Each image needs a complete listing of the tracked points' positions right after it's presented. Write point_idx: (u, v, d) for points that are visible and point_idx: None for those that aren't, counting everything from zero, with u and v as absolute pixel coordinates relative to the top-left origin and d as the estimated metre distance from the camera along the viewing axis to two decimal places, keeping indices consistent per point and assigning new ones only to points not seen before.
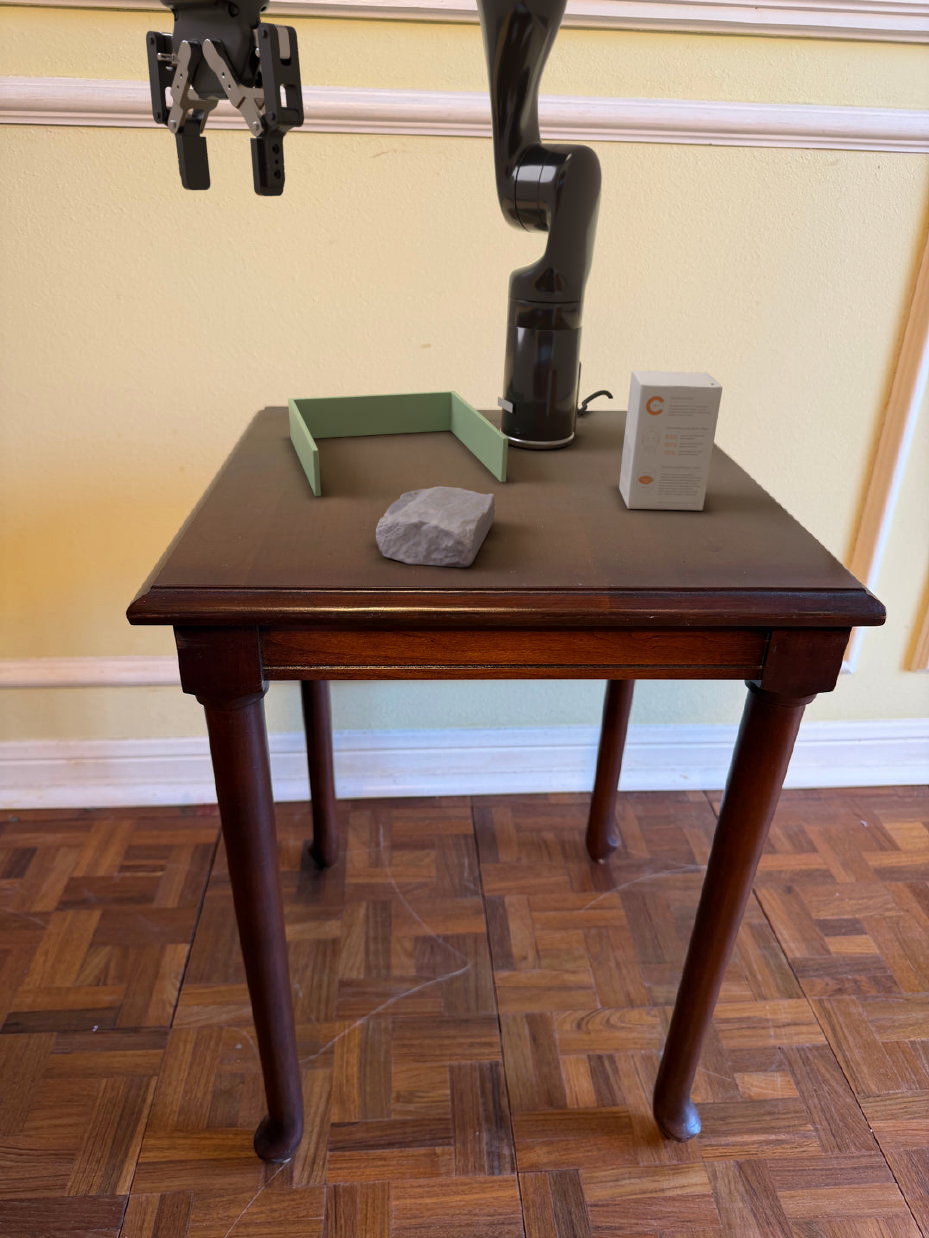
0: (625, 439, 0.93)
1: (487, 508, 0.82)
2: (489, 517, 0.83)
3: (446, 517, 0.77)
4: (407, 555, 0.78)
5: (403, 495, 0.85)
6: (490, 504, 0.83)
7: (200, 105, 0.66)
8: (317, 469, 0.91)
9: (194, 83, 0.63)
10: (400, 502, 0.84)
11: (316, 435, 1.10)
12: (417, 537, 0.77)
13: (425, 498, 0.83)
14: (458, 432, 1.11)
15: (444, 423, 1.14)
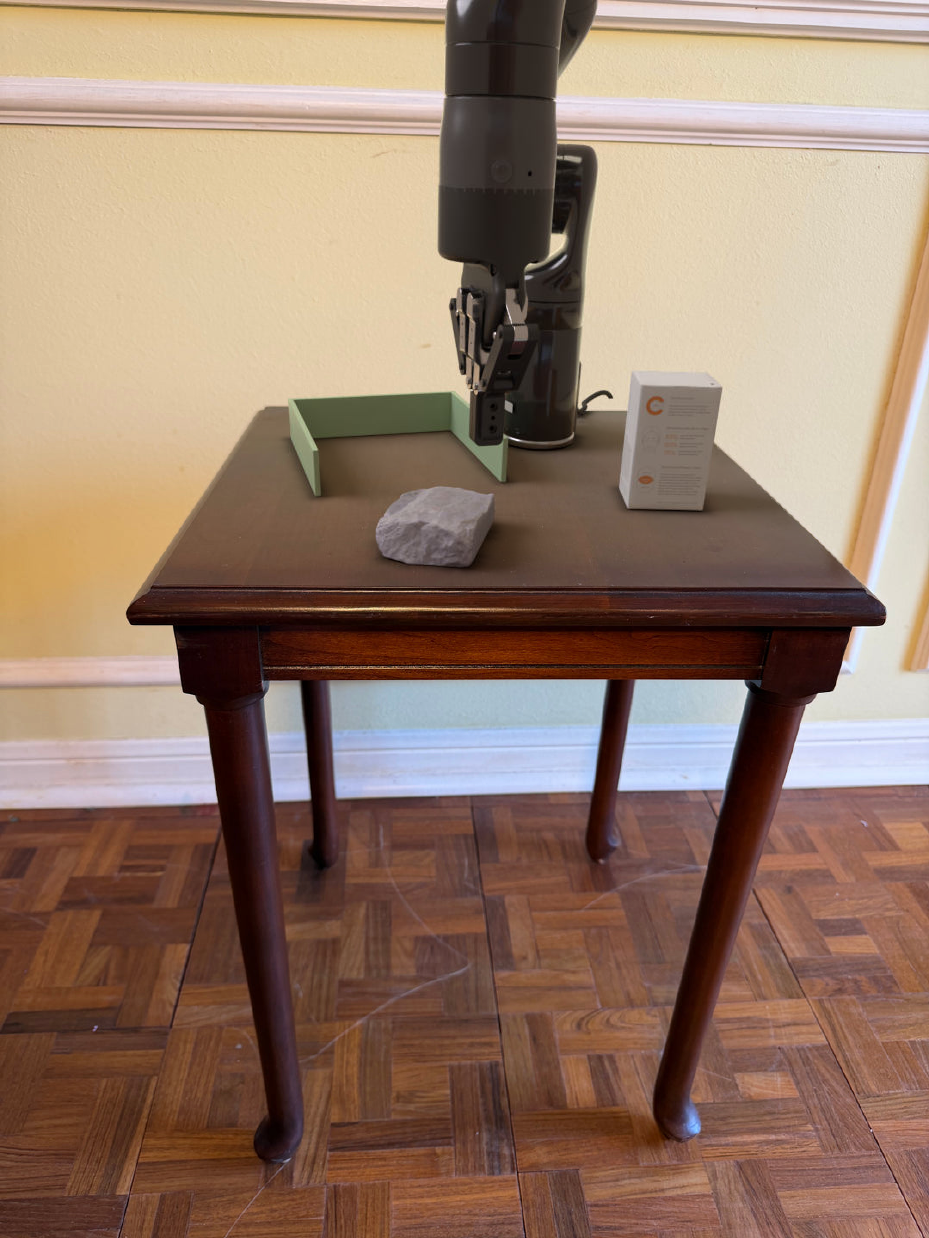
0: (625, 439, 0.93)
1: (487, 508, 0.82)
2: (489, 517, 0.83)
3: (446, 517, 0.77)
4: (407, 555, 0.78)
5: (403, 495, 0.85)
6: (490, 504, 0.83)
7: None
8: (317, 469, 0.91)
9: None
10: (400, 502, 0.84)
11: (316, 435, 1.10)
12: (417, 537, 0.77)
13: (425, 498, 0.83)
14: (458, 432, 1.11)
15: (444, 423, 1.14)
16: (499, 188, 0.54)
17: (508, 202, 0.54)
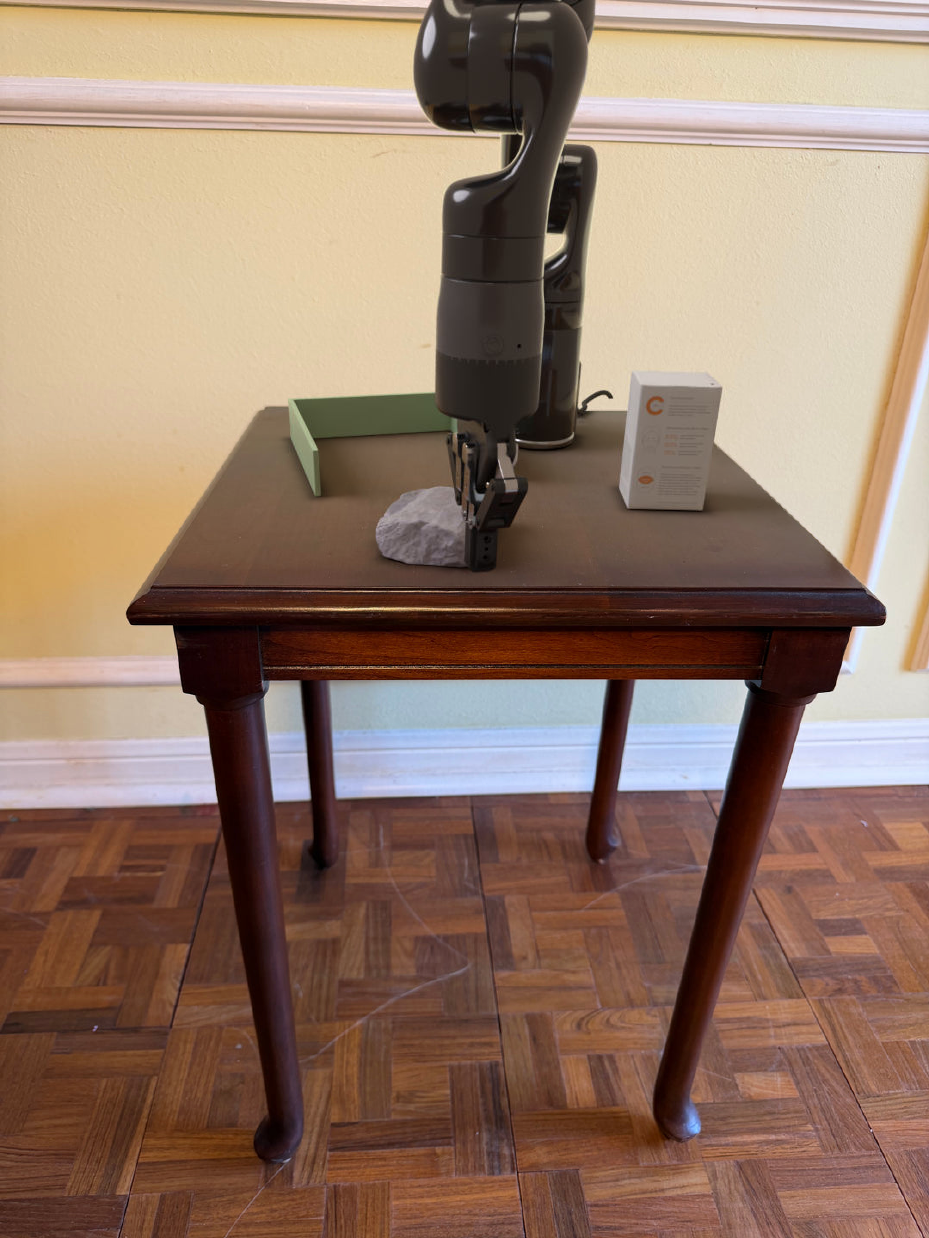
0: (625, 439, 0.93)
1: None
2: None
3: (446, 517, 0.77)
4: (407, 555, 0.78)
5: (403, 495, 0.85)
6: None
7: None
8: (317, 469, 0.91)
9: None
10: (400, 502, 0.84)
11: (316, 435, 1.10)
12: (417, 537, 0.77)
13: (425, 498, 0.83)
14: None
15: (444, 423, 1.14)
16: (491, 359, 0.59)
17: (499, 371, 0.59)
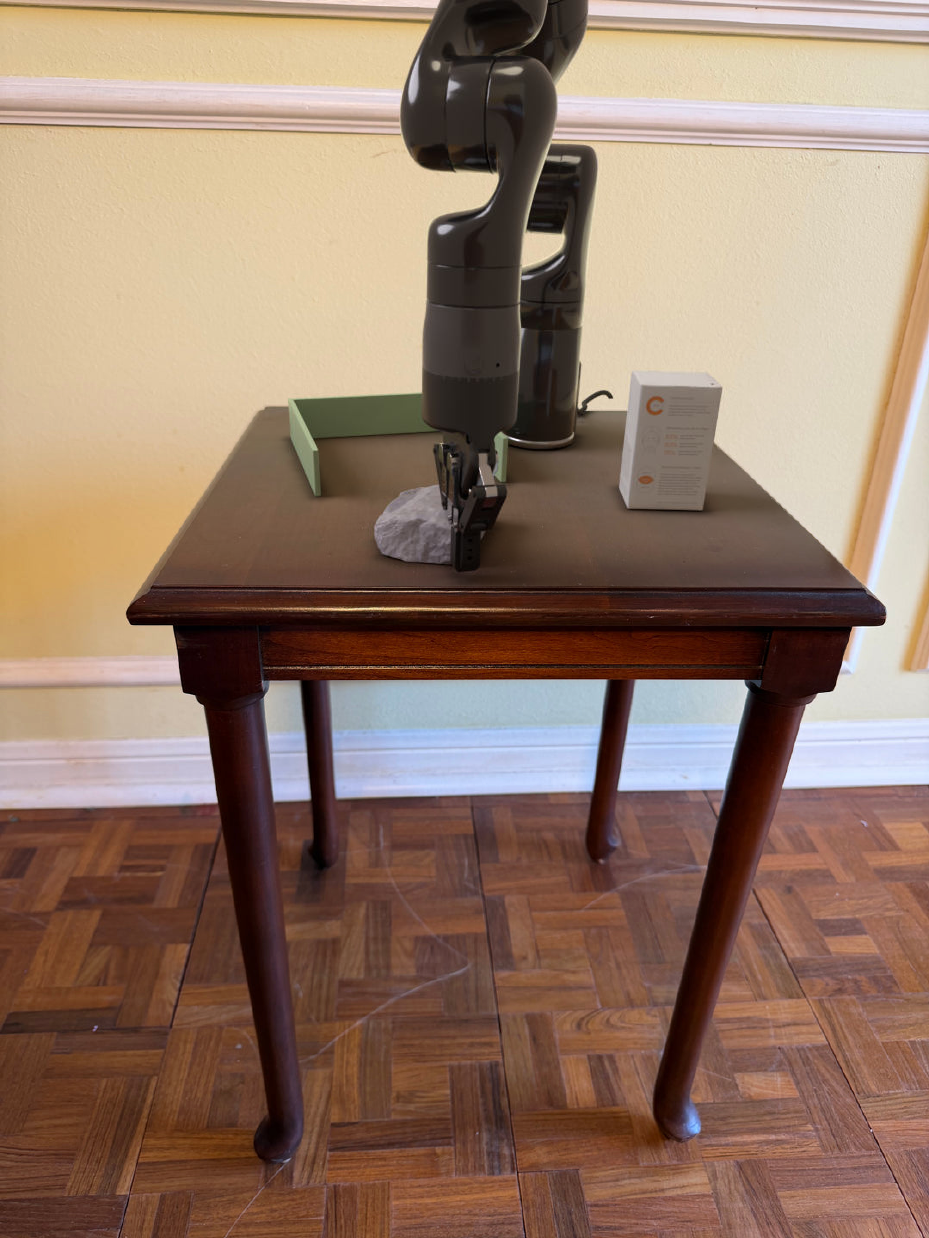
0: (625, 439, 0.93)
1: None
2: None
3: (444, 515, 0.77)
4: (405, 553, 0.78)
5: (402, 493, 0.86)
6: None
7: None
8: (317, 469, 0.91)
9: None
10: (399, 500, 0.84)
11: (316, 435, 1.10)
12: (415, 535, 0.78)
13: (424, 496, 0.84)
14: None
15: None
16: (472, 377, 0.64)
17: (480, 388, 0.65)
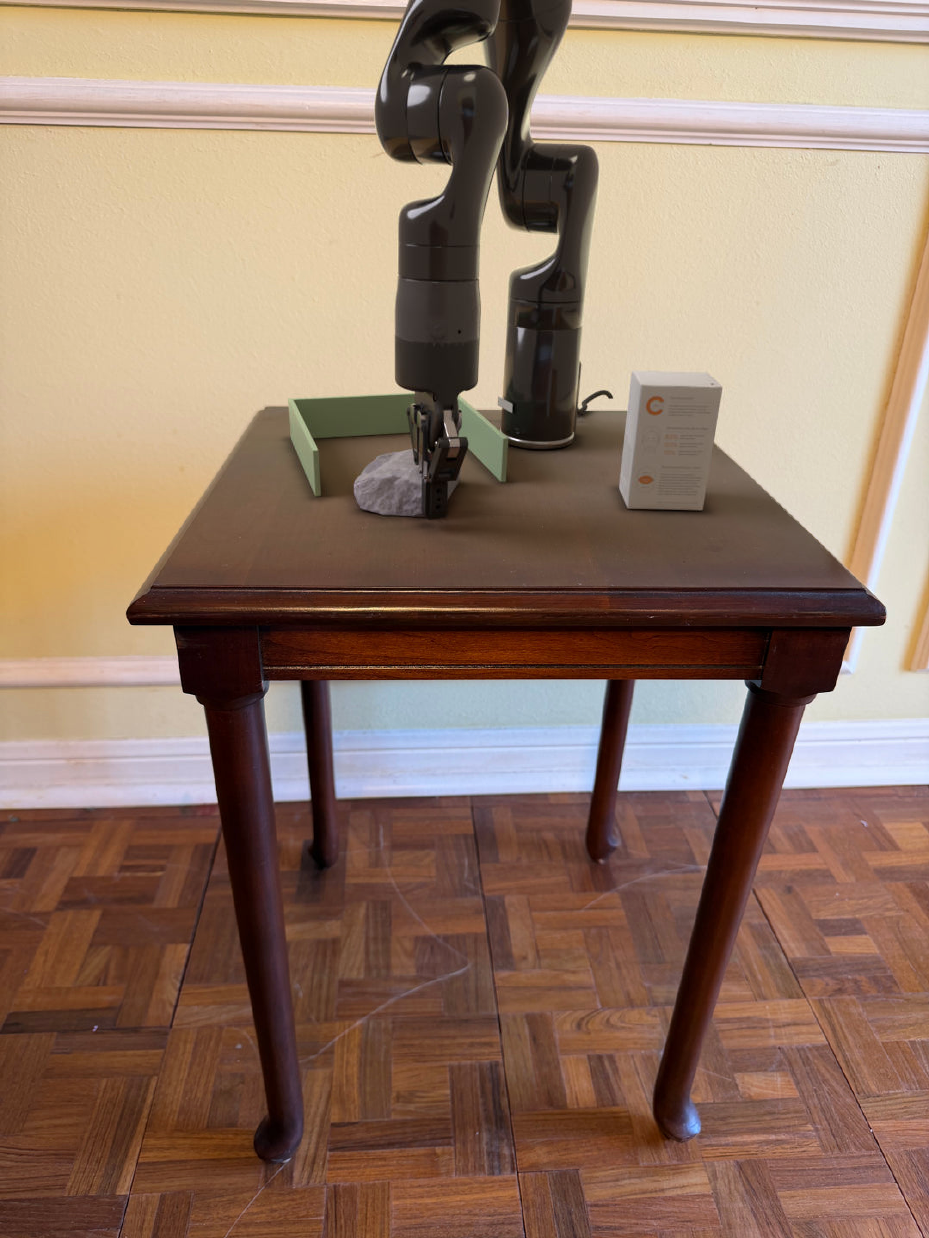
0: (625, 439, 0.93)
1: None
2: None
3: (415, 472, 0.87)
4: (382, 507, 0.88)
5: (378, 457, 0.95)
6: None
7: None
8: (317, 469, 0.91)
9: None
10: (375, 463, 0.94)
11: (316, 435, 1.10)
12: (390, 491, 0.87)
13: (398, 459, 0.93)
14: None
15: None
16: (437, 342, 0.74)
17: (444, 352, 0.75)
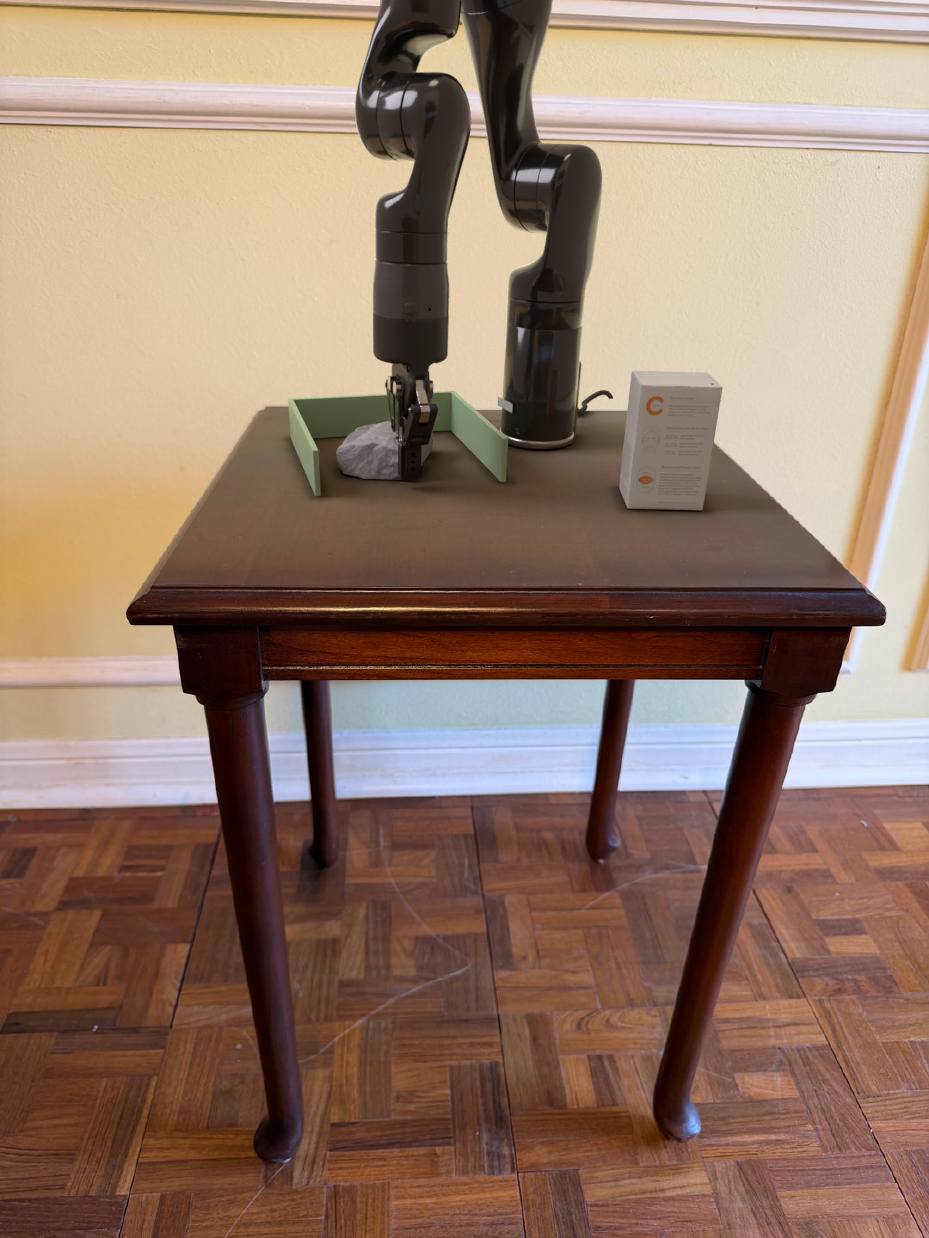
0: (625, 439, 0.93)
1: None
2: (428, 444, 1.03)
3: (392, 439, 0.96)
4: (362, 471, 0.97)
5: (357, 428, 1.04)
6: None
7: None
8: (317, 469, 0.91)
9: None
10: (355, 433, 1.03)
11: (316, 435, 1.10)
12: (370, 457, 0.97)
13: (375, 429, 1.02)
14: (458, 432, 1.11)
15: (444, 423, 1.14)
16: (409, 318, 0.83)
17: (416, 327, 0.84)
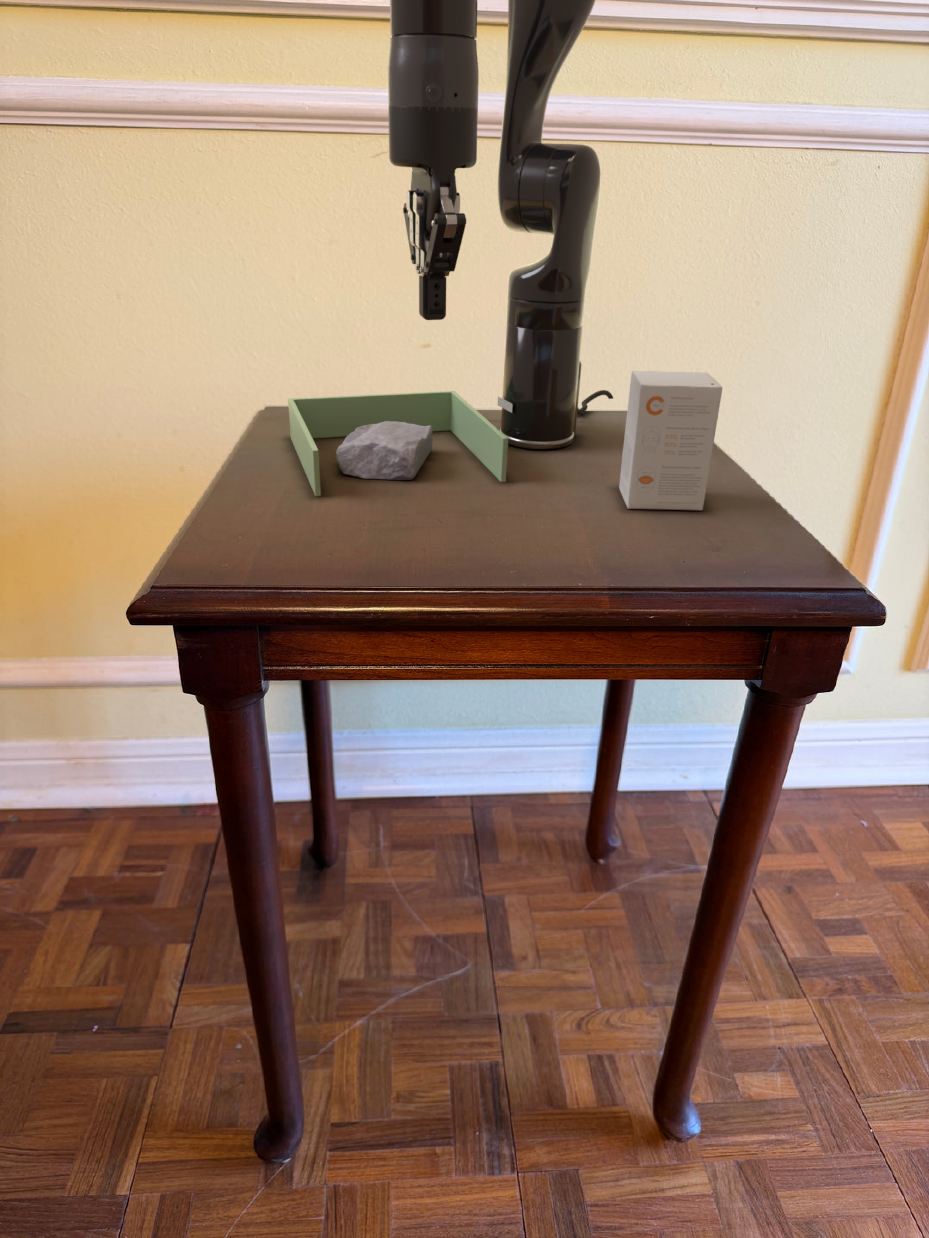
0: (625, 439, 0.93)
1: (426, 435, 1.02)
2: (428, 444, 1.03)
3: (392, 439, 0.96)
4: (362, 471, 0.97)
5: (357, 428, 1.05)
6: (428, 433, 1.03)
7: None
8: (317, 469, 0.91)
9: None
10: (355, 433, 1.03)
11: (316, 435, 1.10)
12: (370, 457, 0.97)
13: (375, 429, 1.03)
14: (458, 432, 1.11)
15: (444, 423, 1.14)
16: (432, 106, 0.70)
17: (439, 117, 0.71)
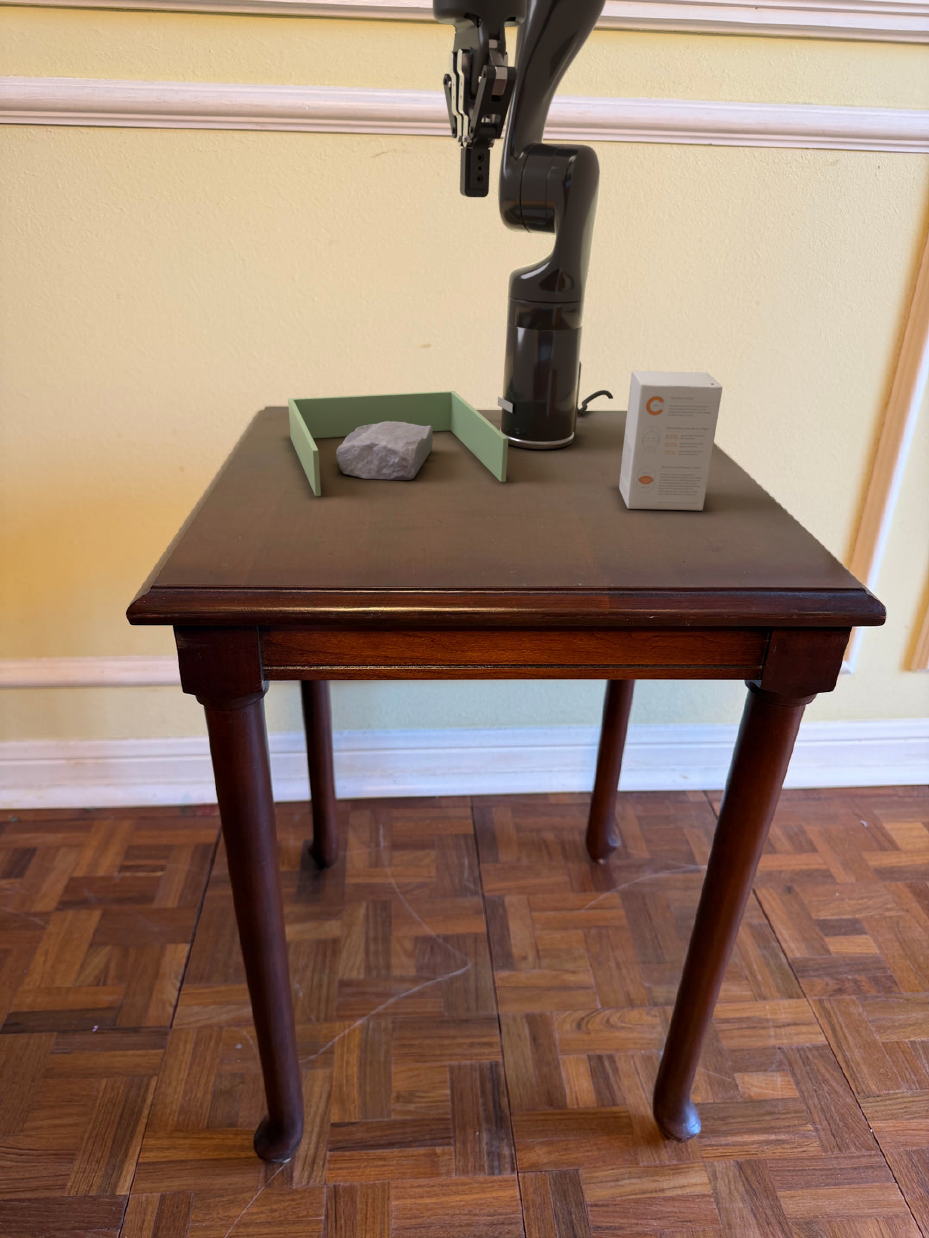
0: (625, 439, 0.93)
1: (426, 436, 1.02)
2: (428, 444, 1.03)
3: (392, 439, 0.96)
4: (362, 471, 0.97)
5: (357, 428, 1.05)
6: (428, 433, 1.03)
7: None
8: (317, 469, 0.91)
9: None
10: (355, 433, 1.03)
11: (316, 435, 1.10)
12: (369, 457, 0.97)
13: (375, 429, 1.03)
14: (458, 432, 1.11)
15: (444, 423, 1.14)
16: None
17: None
